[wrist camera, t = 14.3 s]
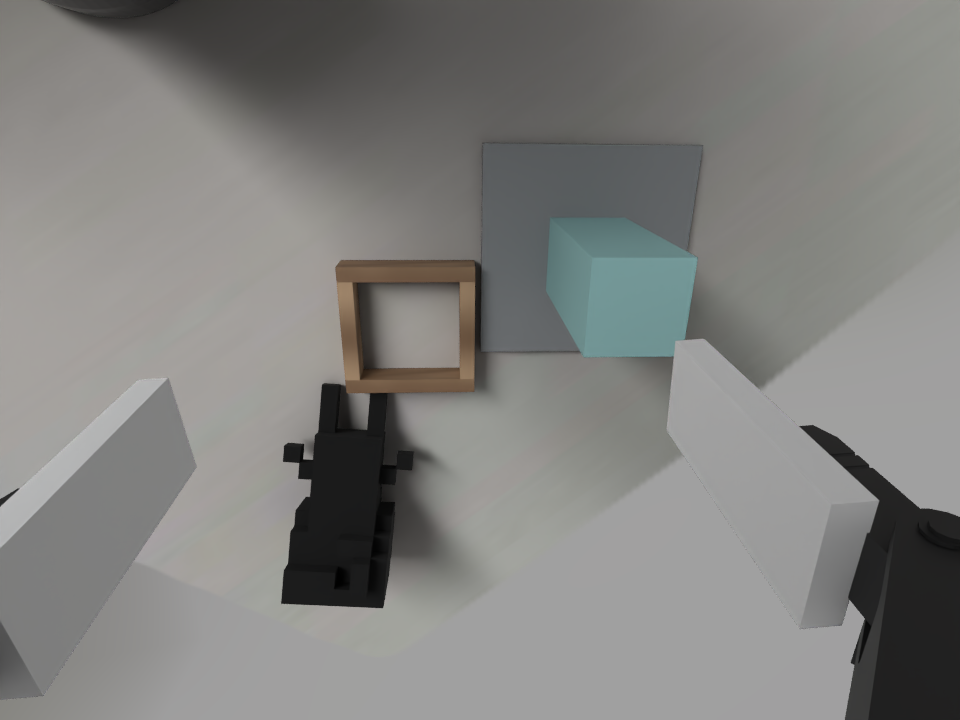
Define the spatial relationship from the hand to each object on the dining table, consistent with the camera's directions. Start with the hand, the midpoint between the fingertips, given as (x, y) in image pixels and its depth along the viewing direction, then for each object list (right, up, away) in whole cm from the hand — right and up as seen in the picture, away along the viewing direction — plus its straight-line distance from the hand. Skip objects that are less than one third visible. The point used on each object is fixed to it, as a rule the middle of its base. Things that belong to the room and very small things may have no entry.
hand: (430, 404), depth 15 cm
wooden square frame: (-4, +4, +25) cm, 26 cm away
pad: (+8, +9, +24) cm, 27 cm away
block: (+8, +8, +24) cm, 26 cm away
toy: (-9, -7, +30) cm, 32 cm away
